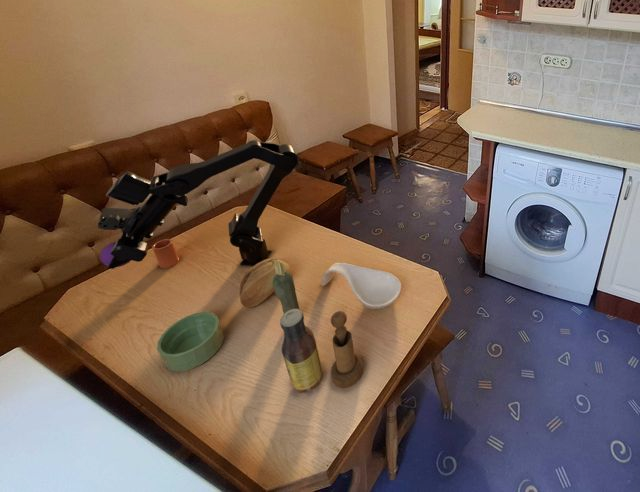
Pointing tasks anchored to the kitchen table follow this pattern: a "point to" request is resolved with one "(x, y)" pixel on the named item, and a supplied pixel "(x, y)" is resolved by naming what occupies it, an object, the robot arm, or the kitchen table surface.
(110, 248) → the plum
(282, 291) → the vegetable
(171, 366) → the bowl
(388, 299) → the spoon rest
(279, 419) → the kitchen table surface
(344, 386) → the mortar and pestle
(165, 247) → the stand
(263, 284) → the bread roll
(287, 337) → the sauce bottle
